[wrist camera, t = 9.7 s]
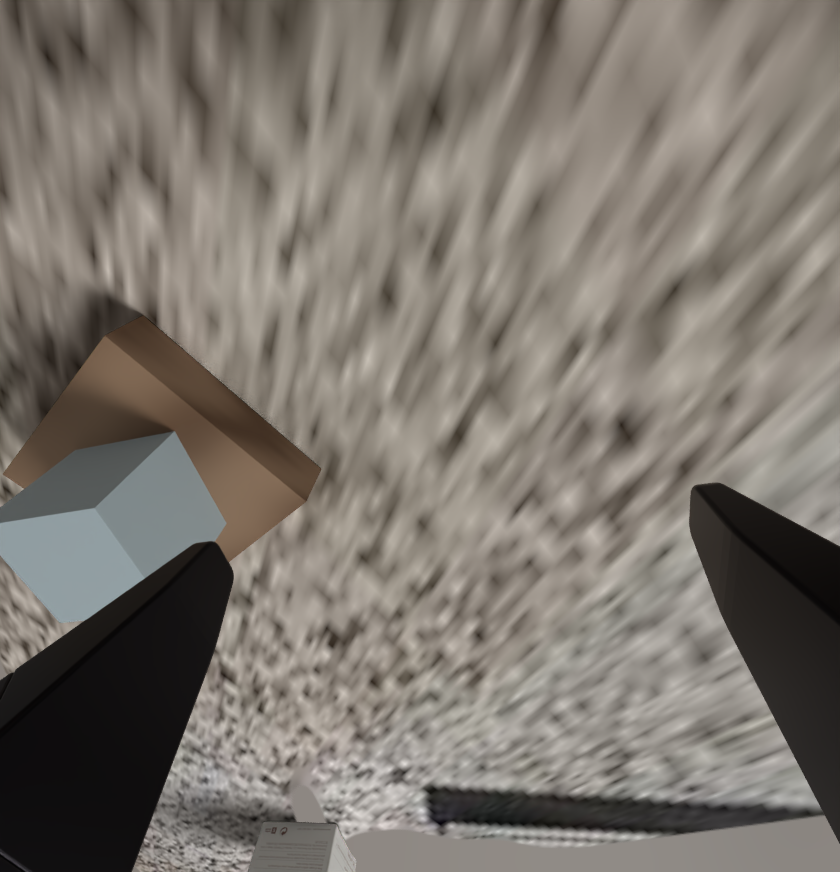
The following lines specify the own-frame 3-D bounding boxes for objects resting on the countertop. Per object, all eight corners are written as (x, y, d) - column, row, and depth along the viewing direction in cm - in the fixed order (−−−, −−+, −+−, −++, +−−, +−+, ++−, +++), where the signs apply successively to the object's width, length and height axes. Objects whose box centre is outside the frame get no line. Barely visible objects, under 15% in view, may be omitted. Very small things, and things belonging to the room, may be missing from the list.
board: (321, 469, 24) (305, 501, 22) (206, 561, 28) (184, 596, 26) (143, 315, 21) (104, 335, 18) (43, 445, 25) (2, 474, 23)
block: (174, 431, 20) (94, 508, 16) (226, 523, 23) (168, 611, 18) (74, 450, 21) (-26, 526, 17) (134, 536, 24) (59, 622, 20)
